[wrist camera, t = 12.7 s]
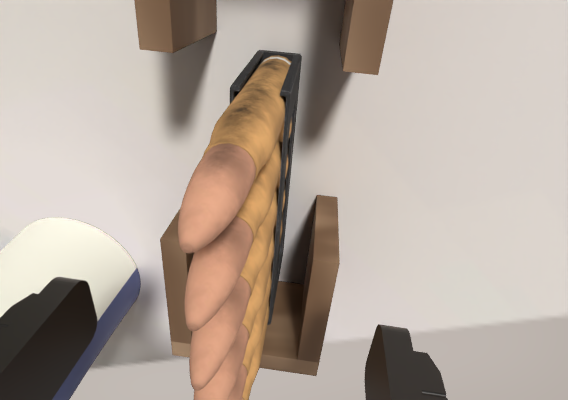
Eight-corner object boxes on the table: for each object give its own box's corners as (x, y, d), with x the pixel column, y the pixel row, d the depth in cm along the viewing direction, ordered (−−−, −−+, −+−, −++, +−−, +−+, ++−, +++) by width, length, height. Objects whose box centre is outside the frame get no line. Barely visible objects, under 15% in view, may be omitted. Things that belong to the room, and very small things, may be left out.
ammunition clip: (282, 256, 21) (237, 523, 11) (249, 252, 21) (174, 512, 11) (302, 53, 16) (248, 204, 5) (257, 49, 16) (118, 188, 5)
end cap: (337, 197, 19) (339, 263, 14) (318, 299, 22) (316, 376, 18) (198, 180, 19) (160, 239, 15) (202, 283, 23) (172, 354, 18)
